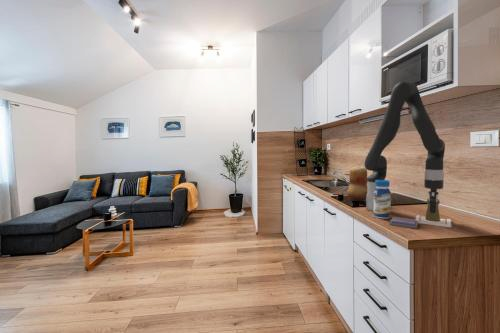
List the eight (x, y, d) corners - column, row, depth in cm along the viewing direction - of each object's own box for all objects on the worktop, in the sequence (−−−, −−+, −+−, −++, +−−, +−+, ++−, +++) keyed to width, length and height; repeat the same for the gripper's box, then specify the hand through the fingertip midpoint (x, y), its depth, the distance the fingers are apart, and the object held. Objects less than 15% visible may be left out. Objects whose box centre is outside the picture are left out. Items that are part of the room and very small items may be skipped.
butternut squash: (349, 203, 165) (349, 167, 164) (345, 199, 178) (346, 165, 177) (371, 203, 162) (371, 167, 161) (366, 199, 175) (366, 165, 174)
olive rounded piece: (423, 220, 120) (424, 198, 120) (426, 217, 125) (427, 196, 124) (439, 222, 116) (439, 199, 115) (441, 219, 120) (441, 198, 119)
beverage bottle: (389, 215, 133) (389, 179, 132) (392, 219, 125) (392, 181, 124) (372, 214, 136) (372, 179, 135) (373, 218, 128) (374, 181, 127)
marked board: (414, 222, 120) (414, 220, 120) (416, 217, 129) (416, 215, 129) (451, 227, 111) (451, 225, 111) (450, 221, 120) (450, 219, 120)
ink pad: (389, 224, 117) (389, 220, 117) (392, 219, 125) (392, 216, 125) (416, 228, 110) (416, 224, 110) (418, 223, 118) (418, 219, 118)
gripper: (425, 176, 127) (424, 207, 128) (423, 179, 116) (422, 212, 117) (443, 177, 122) (442, 209, 123) (443, 180, 111) (442, 215, 112)
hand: (432, 210), depth 120 cm, fingers open, 8 cm apart
